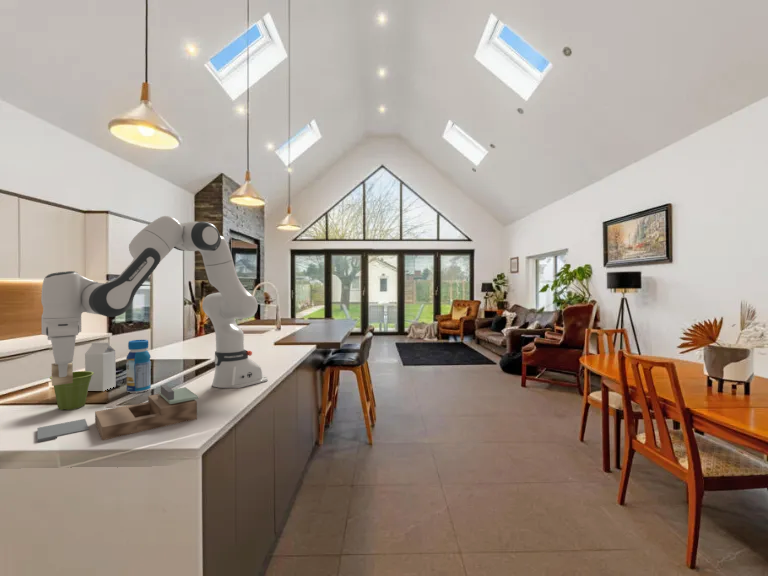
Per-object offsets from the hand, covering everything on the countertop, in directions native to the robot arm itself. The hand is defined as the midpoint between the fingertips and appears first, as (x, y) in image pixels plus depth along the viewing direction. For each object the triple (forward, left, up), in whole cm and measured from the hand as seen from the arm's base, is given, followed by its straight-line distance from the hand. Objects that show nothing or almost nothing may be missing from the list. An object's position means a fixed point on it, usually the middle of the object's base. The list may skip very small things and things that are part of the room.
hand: (62, 374), depth 110 cm
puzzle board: (-20, +8, -16) cm, 27 cm away
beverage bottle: (-25, -34, -17) cm, 45 cm away
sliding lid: (-28, +8, -10) cm, 31 cm away
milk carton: (-14, -46, -17) cm, 50 cm away
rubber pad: (0, 0, -16) cm, 17 cm away
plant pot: (-4, -26, -17) cm, 31 cm away
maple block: (0, 0, -2) cm, 2 cm away
